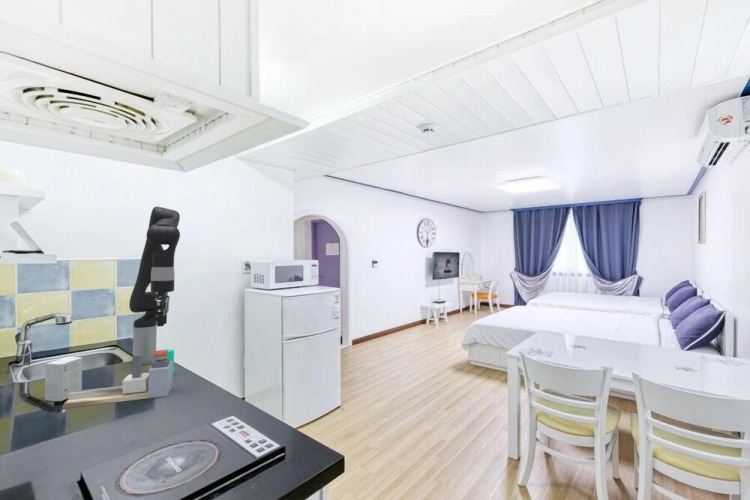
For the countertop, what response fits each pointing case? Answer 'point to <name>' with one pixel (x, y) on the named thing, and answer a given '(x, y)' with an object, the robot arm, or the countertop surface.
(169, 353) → the candle
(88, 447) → the countertop surface
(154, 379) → the push button housing
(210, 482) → the countertop surface
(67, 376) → the small box
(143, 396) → the rail
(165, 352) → the button
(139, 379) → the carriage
